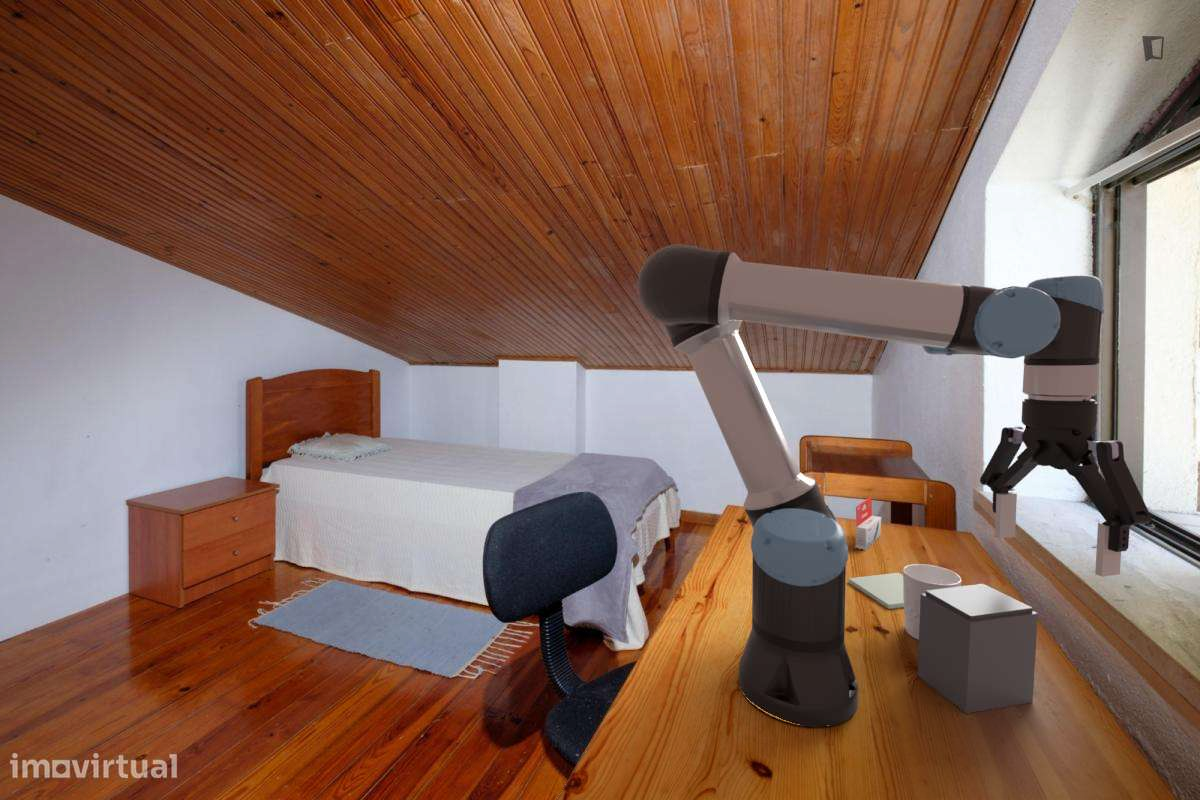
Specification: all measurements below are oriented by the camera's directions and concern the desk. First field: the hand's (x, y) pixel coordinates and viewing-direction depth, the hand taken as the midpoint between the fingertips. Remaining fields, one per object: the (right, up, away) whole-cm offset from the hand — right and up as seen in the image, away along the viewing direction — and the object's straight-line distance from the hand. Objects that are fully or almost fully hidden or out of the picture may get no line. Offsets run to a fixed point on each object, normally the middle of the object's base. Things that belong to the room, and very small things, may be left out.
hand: (1051, 554), depth 73 cm
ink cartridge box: (+1, -13, +53) cm, 54 cm away
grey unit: (-11, -18, 0) cm, 21 cm away
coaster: (-6, -15, +28) cm, 32 cm away
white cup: (-8, -17, +13) cm, 23 cm away
